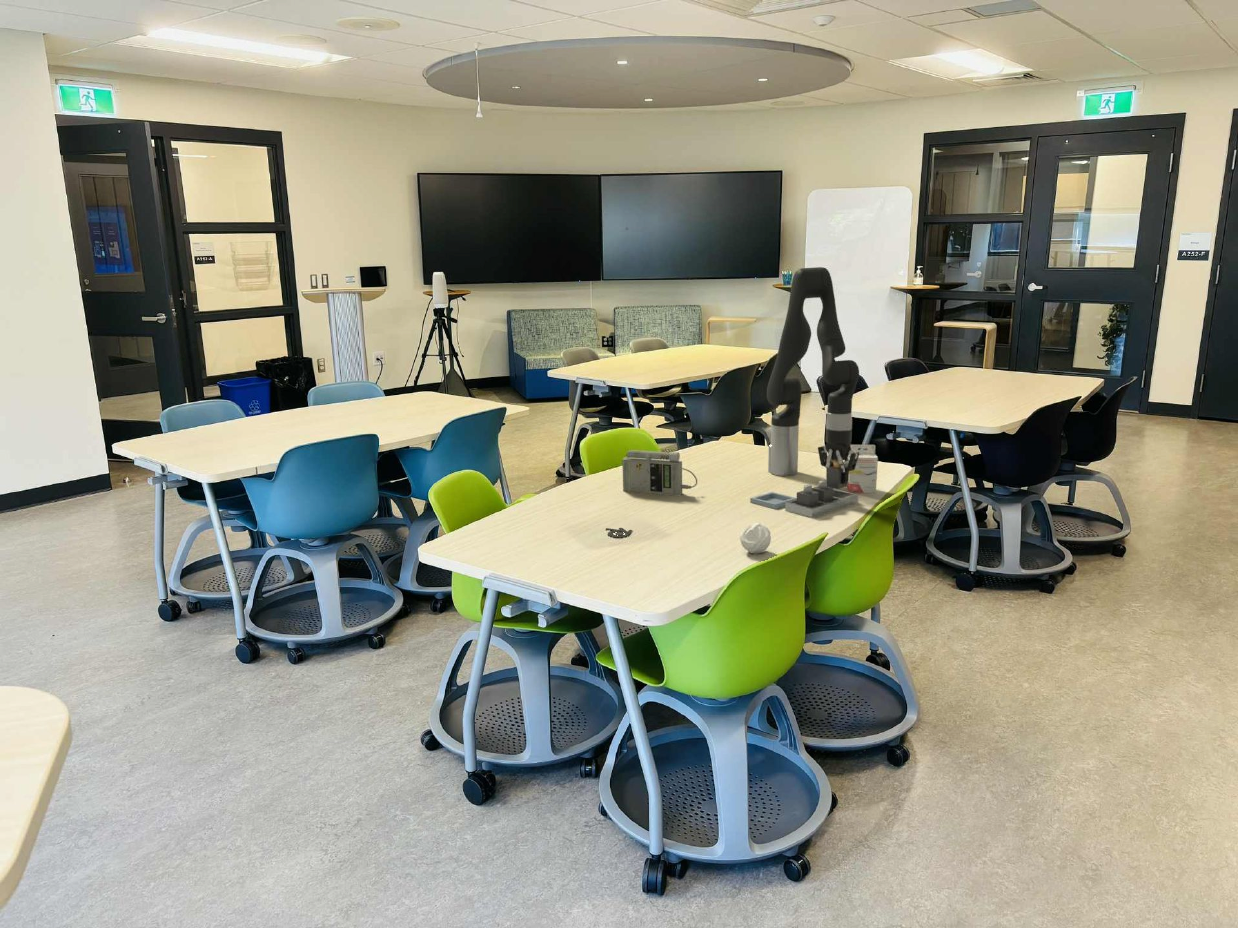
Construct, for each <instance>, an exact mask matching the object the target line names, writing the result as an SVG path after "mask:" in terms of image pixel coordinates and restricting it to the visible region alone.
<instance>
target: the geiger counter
mask: <svg viewBox="0 0 1238 928" xmlns="http://www.w3.org/2000/svg"><path fill="white" fill-rule="evenodd" d="M680 455H681V454H680V452H679V451H678V452H677V451H670V452H666V451H665V452H664V451H663V452H662V451H649V450H634V449H633V450H632V449H631V450H630V449H629V450H628V451H627V452H626V453H625V457H623V458H622V462H621V463H622V491H623V492H630V493H631V492H632V493H641V494H643V493H644V494H654V495H665V496H677V497H679V496H682V494H683V489H685V490H688V489H689V490H691V489H692V488H694V487H696V486H697V485H698V479H697V476H696V475H695V474H694V472H692V471H691V470H689V469H687V468H684V467H683V461H682V460H680V457H681V456H680ZM683 470H684V471H686V472H689V473H690V474H691V475H692V476H693V477H694V479H695V484H694V485H690V484H689V485H688V484H683Z"/></svg>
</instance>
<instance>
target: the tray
mask: <svg viewBox="0 0 1238 928" xmlns="http://www.w3.org/2000/svg"><path fill="white" fill-rule="evenodd" d="M749 499H750V502H749V503H750V504H754V505H758V506H762V507H765V508H769V509H772V510H778V509H781V508H785V502H788V501H791V500H794V499H797V497H793V496H789V495H785V494H783V493H782V494H781V493H778V492H773V491H770V492H767V493H764V494H760V495H757V496H753V497H750V498H749Z"/></svg>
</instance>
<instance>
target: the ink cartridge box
mask: <svg viewBox="0 0 1238 928" xmlns="http://www.w3.org/2000/svg"><path fill="white" fill-rule="evenodd" d="M850 447H851V450H852V451H854V452H858V453H859V457H858V460H857V464H856V467H855V470H852V471H849V477H848V485H847V487H846V489H847V492H850V493H856V494H860V493H861V494H862V493H865V494H867V493H868V494H872V493H873V494H874V493H875V494H877V479H878V463H879V458H878V457H879V456H877V454H876V445H875V444H850ZM862 448H863V449H862ZM849 456H850V455H848V458H849ZM849 459H850V458H849Z"/></svg>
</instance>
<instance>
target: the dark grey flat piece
mask: <svg viewBox="0 0 1238 928" xmlns="http://www.w3.org/2000/svg"><path fill="white" fill-rule="evenodd" d="M605 529H606V530H605V531H607V530H610V531H608V532H607V536H608V537H609V536H610V537H609V538H611V537H613V538H612V539H624V538H623V537H625V538H628V537H630V536H631V535H632V533H633V530H632V529H629V530H628V531H627V530H626V529H624V528H623V527H619V528H618V529H617V528H610V527H609V528H608V527H607V528H605ZM619 529H620V530H619ZM615 532H617V533H615ZM623 532H624V533H625V535H623V534H624V533H623ZM631 532H632V533H631ZM613 533H615V534H616V535H614V534H613ZM617 535H618V536H617ZM627 536H628V537H627Z"/></svg>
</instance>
